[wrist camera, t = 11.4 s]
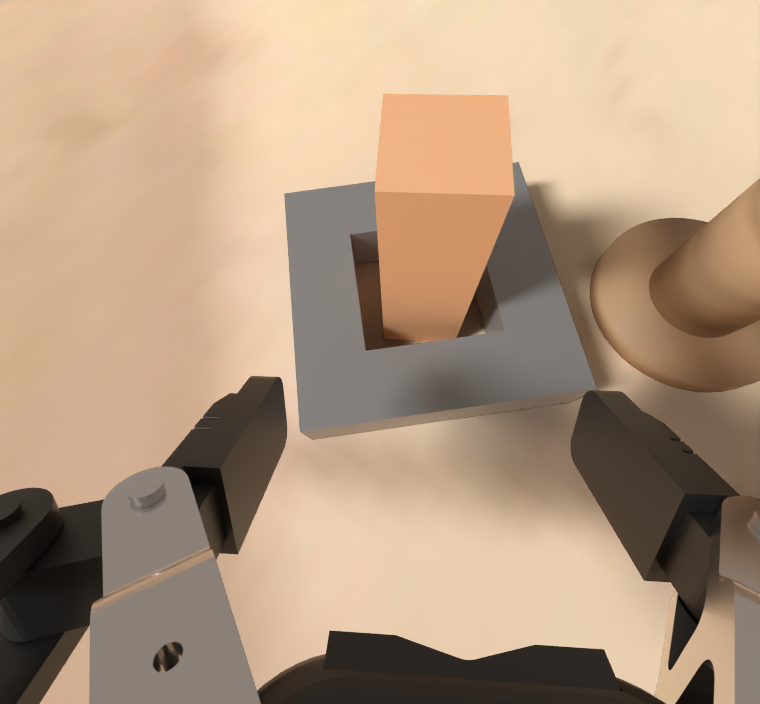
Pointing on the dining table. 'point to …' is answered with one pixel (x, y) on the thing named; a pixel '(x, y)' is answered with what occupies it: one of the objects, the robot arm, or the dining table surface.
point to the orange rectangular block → (438, 206)
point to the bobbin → (686, 298)
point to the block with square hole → (429, 359)
